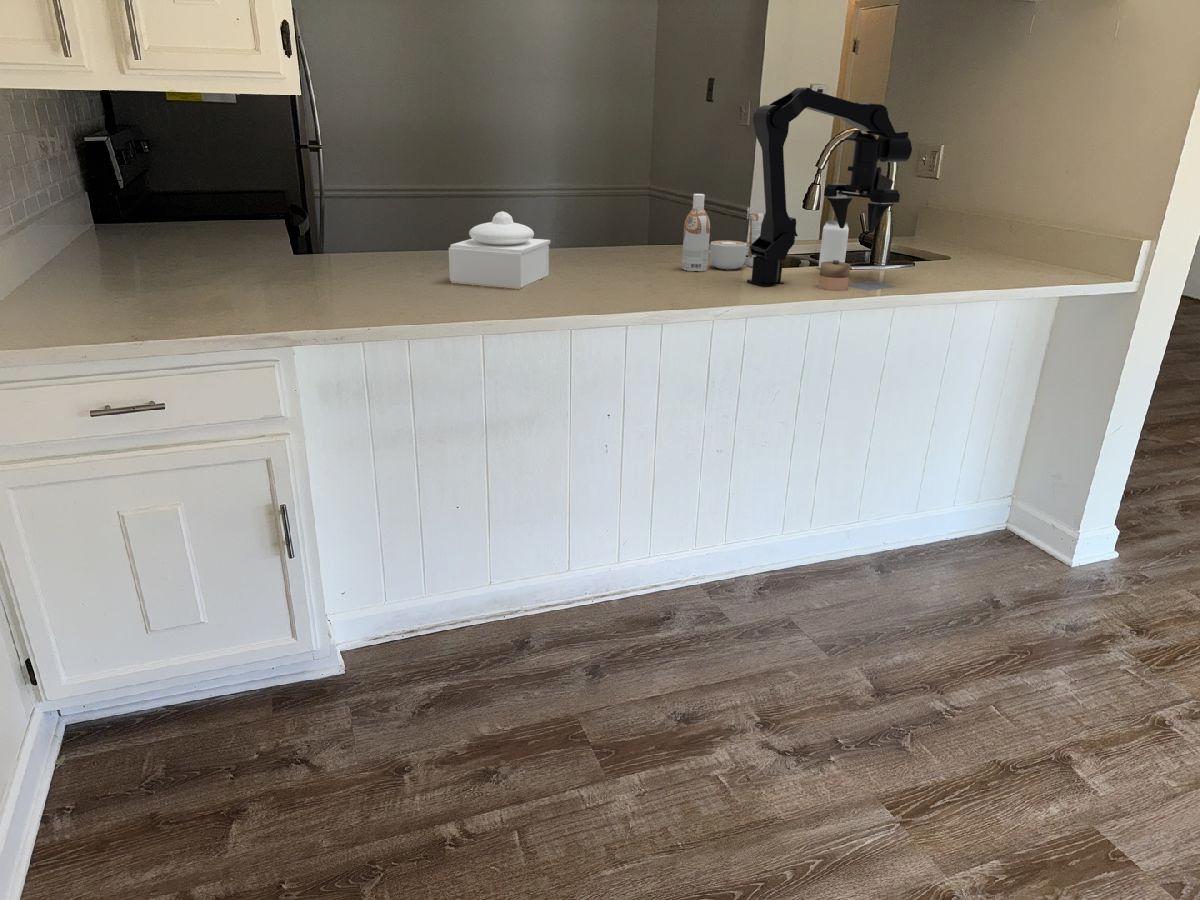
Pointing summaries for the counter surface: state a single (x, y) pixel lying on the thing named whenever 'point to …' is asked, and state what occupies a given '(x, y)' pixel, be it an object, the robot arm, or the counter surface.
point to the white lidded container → (499, 255)
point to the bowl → (833, 283)
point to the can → (833, 242)
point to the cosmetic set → (720, 251)
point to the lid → (835, 269)
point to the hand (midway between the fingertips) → (856, 230)
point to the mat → (870, 285)
